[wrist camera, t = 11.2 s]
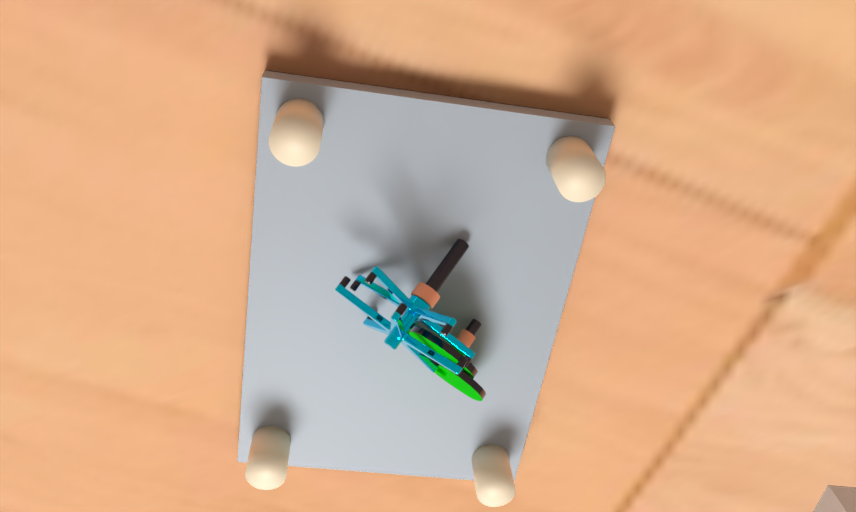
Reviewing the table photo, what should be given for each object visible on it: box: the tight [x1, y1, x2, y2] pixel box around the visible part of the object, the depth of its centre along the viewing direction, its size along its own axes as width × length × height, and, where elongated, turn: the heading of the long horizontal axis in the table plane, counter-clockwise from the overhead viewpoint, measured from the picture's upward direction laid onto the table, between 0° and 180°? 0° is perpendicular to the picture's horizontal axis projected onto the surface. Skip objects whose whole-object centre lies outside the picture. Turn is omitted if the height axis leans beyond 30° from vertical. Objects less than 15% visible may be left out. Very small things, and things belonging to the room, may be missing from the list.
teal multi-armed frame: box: [335, 239, 486, 401], centre depth 44 cm, size 12×7×8 cm
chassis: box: [238, 70, 615, 507], centre depth 45 cm, size 18×25×4 cm
